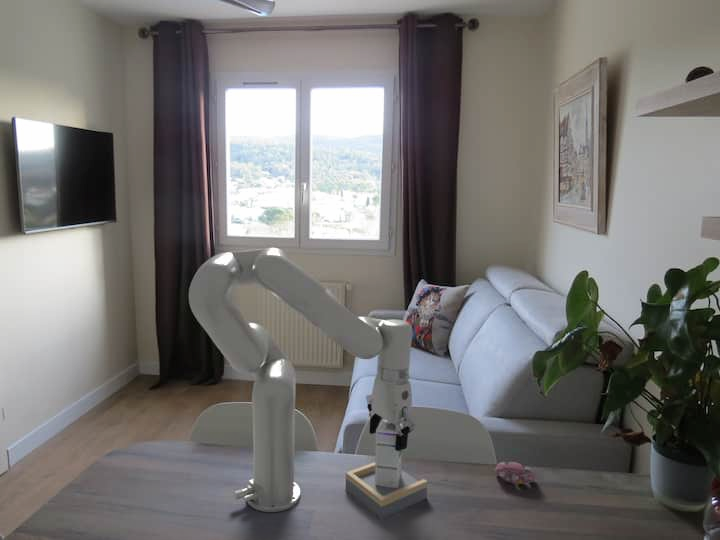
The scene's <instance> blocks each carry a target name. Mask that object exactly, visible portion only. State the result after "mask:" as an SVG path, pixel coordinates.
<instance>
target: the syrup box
mask: <svg viewBox="0 0 720 540" xmlns="http://www.w3.org/2000/svg"><path fill="white" fill-rule="evenodd" d="M400 425H401V428H402V429H403V428H404V426H403V423H402V424H400ZM396 434H398V431H397V429H396V426H395V425H394V424H392V423H391V422H389V421H387V420H386V419H382V420H381V421H380V423H379V425H378V427H377V429H376V433H375V459H374V460H375V461H374V462H375V485H377V486H382V487H389V488H398V486H399V483H400V480H401V475H402V471H403V470H402V467H403V465H402V464H403V450H400V451H396V450H395V442H396Z"/></svg>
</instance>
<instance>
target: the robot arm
mask: <svg viewBox="0 0 720 540" xmlns="http://www.w3.org/2000/svg"><path fill="white" fill-rule="evenodd" d="M255 285H258V286H259V287H261V288H262V289H264V290H265V291H267V292H268V293H270V294H271V295H273V297H275V298H276V299H278V300H280V301H281V302H283V303H284V304H285V305H287V307H290V308H291V309H292V310H294V311H296V312H297V313H299V314H300V315H301V316H303V317H304V318H305V319H306V320H307V321H308V322H309V323H310V324H311V325H313V326H314V327H315V328H317V330H319V331H320V332H321V333H323V334H324V336H326V337H327V338H329V339H330V340H331V341H332V342H333V343H335V344H336V345H338V346H339V347H341V348H342V349H344V350H345V351H346V352H348V353H349V354H351V355H352V356H354V357H356V358H358V359H361V360H370V359H373V358H375V357H377V365H376V375H375V377H374V382H373V387H372V394H368V395H366V396H365V399H366V402H367V403H366V404H367V409H368V410H367V411H368V412H369V413H368V417H369V419H370V420H369V434H370V435H373V434H376V429H377V427H378V425H379V423H380V421H381V420H387V421H389V422H391V423H392V424H394V425H395V426H396V429H397V431H398V434H396V442H395V450H396V451H400V450H402V451H403V450H406V449H407V447H408V440H409V439H408V438H409V434H411V432H412V431H414V428H415V426H416V425H417V422H418V421H417V420H416V418H415V417H414V416H413V414H412V409H413V406H412V405H413V399H412V398H413V396H412V395H413V394H412V386H411V381H410V379H411V375H410V362H411V352H412V351H411V349H412V340H413V339H412V338H413V337H412V336H413V327H412V325H411V324H410V322H408V321H406V320H402V319H394V318H393V319H381V318H380V319H379V318H375V317H369V316H357V315H355V313H353V312H351V311H350V310H349V309H348V308H347V307H346V306H345V305H344V304H342V303H341V302H340V300H339V299H338V298H337V297H336V296H335V294H334V293H333V292H332V291H331V289H329V288H328V286H326V285H325V284H324V283H322V282H321V281H320V280H318V279H317V278H315V277H314V276H312V275H311V274H310V273H309V272H307V271H305V270H304V269H302V268H301V267H300V266H298V265H297V264H296V263H294V262H293V261H291V259H290V257H289V255H287V253H286V252H284V251H283V250H282V249H280V248H277V247H265V248H257V249H248V250H240V251H239V250H238V251H237V250H236V251H228V252H221V253H218V254H215V255H213V256H212V257H211V258H209V259H207V260H206V261H205V262H204V263H203V264H201V265H200V267H199V268H198V270H197V271H196V272H195V274H194V275H193V278H192V280H191V282H190V286H189V289H188V302H189V306H190V309H191V312H192V314H193V315H194V317H195V319H196V321H197V322H198V323H199V324H200V326H201V328H203V330H204V331H205V332H206V333H207V335H208V336H209V338H210V339H211V340H212V342H213V344H214V345H215V347H217V349H218V350H219V351H220V353H221V354H222V355H223V356H224V358H225V359H226V361H227V362H228V363H229V365H230V366H231V367H232V368H233V369H234V371H236V372H238V373H240V374H244V375H251V376H252V377H253V378H254V383H253V387H252V394H251V408H252V425H253V426H252V439H253V441H252V442H253V444H252V445H253V446H252V447H253V454H252V456H253V457H252V458H253V464H252V467H253V473H252V474H253V476H252V477H253V478H252V479H249V480H248V484H249V485H246V486H245V488H240V489H238V490H235V491H233V498H234V500H235V501H237V500H240V499H242V500H243V502H244V503H248V505H249V506H250V507H252V508H253V509H255V510H257V511H260V512H264V513H276V512H282V511H285V510H288V509H291V508H292V507H294V506H295V505H297V503H298V502H299V501H300V498H301V488H300V486H299V485H298V484H297V483H296V482H295V411H296V407H295V406H296V372H295V368H294V366H293V364H292V362H291V361H290V359H289V358H288V357H287V356H286V354H285V353H284V351H283V350H282V348H281V347H280V346H279V345H278V343H277V342H276V341H275V339H274V338H273V337H272V335H271V334H270V332H269V331H268V330H267V329H266V328H264V327H263V326H262V325H261V324H258V323H255V322H248V321H247V320H246V318H245V317H244V315H243V314H242V312H241V311H240V309H239V308H237V306H236V305H235V304H234V303H233V302H232V300H231V298H230V295H231V293H232V292H233V290H234V289H235V288H237V287H243V286H255ZM402 423H403V429H402V428H401V425H400V424H402Z"/></svg>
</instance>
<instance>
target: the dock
mask: <svg viewBox="0 0 720 540" xmlns="http://www.w3.org/2000/svg"><path fill="white" fill-rule="evenodd" d="M345 490H346V492H348V493H349V494H350V495H352V496H353V497H354V498H355V499H356V500H358V501H359V502H360V503H361V504H362V505H364V506H365V507H366V508H367V509H368V510H370V511H371V512H372V513H374V515H376V516H377V518H378V517H379V519H385V518H386V517H389V516H391V515H394V514H395V513H397V512H400V511H403V510H404V509H406V508H409V507H411V506H413V505H415V504H418V503H420V502H422V501H424V500H427V497H428V496H427V494H428V480H426V479H425V478H422V479H420V480H418V479H416V478H414V477H413V476H411V475H410V474H408V473H407V472H406V471H404V470H402V475H401V480H400V483H399V486H398V488H389V487H382V486H377V485H375V461H374V462H371V463H368V464H366V465H362V466H360V467H357V468H355V469H351V470H349V471H347V472H345Z"/></svg>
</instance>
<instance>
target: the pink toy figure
mask: <svg viewBox="0 0 720 540" xmlns="http://www.w3.org/2000/svg"><path fill="white" fill-rule="evenodd" d="M494 473H495V476H496V477H500V478H502V480H503V481H504V482H506V481H508V482H507V483H511V482H512V481H513V477H514V476H516V477H515V482H516V484H518V485H520V484H523V485H526V483H534V481H535V479H536V476H535V472H534V470H533V469H532V468H531V467H530V466H525V465H523V464H521V463H520V462H516V461H511V462H510V461H508V462H506V461H501V462H498V463H497V465H496V466H495V468H494ZM523 485H522V486H523Z"/></svg>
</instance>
